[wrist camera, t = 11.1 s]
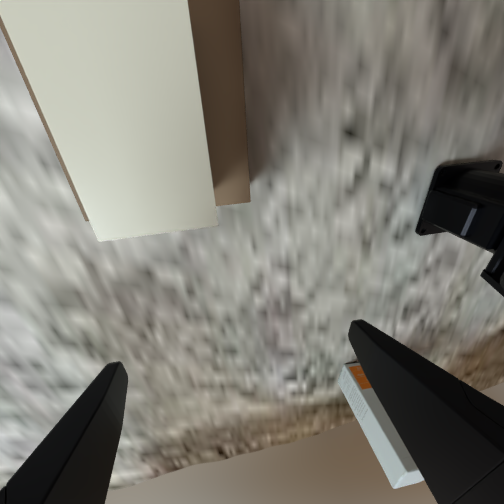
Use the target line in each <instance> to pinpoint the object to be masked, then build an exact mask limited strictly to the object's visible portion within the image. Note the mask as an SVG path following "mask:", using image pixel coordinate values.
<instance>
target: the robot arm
mask: <svg viewBox="0 0 504 504" xmlns="http://www.w3.org/2000/svg"><path fill="white" fill-rule="evenodd" d="M502 164H503V163H502V161H499V160H489V161H480V162H471V163H461V164H452V165H443V166H439V167H438V168H437V169H436V170H435V173H434V176H433V179H432V182H431V185H430V188H429V191H428V194H427V197H426V200H425V203H424V206H423V209H422V212H421V215H420V218H419V221H418V224H417V227H416V231H415V232H416V233H417V234H418V235H420V236H422V235H429V234H435V233H442V232H449V233H451V234H453V235H455V236H457V237H459V238H462V239H464V240H466V241H468V242H470V243H472V244H474V245H476V246H479V247H481V248H483V249H485V250H487V251H489V252H491V253H493V256H492V258H491V260H490V262H489V263H488V265H487V267H486V269H484V270H483V271H482V273H481V275H480V276H481V277H482V278H483V279H485V280H486V281H487V282H488V283H489V284H490V285H491V286H492V287H493V288H494V289H496V290H497V291H498V292H499V293H500V294H501V295H502V296H503V297H504V174H502V173H499V171H500V169H501V167H502ZM441 172H442V173H441ZM348 337H349V341H350V343H351V345H352V347H353V349H354V352H355V354H356V356H357V358H358V361H359V363H360V365H361V367H362V370H363V372H364V374H365V376H366V378H367V380H368V381H369V383H370V385H371V387H372V388H373V390H374V392H375V394H376V395H377V397H378V399H379V401H380V402H381V404H382V406H383V408H384V410H385V411H386V413H387V415H388V417H389V418H390V420H391V422H392V424H393V425H394V427H395V429H396V431H397V432H398V434H399V436H400V438H401V439H402V441H403V443H404V445H405V447H406V448H407V450H408V452H409V454H410V455H411V457H412V459H413V461H414V462H415V464H416V466H417V468H418V469H419V471H420V473H421V475H422V476H423V478H424V480H425V481H426V483H427V485H428V487H429V489H430V491H431V492H432V494H433V496H434V497H435V499H436V501H437V503H438V504H504V406H503V405H501V404H500V403H498V402H496V401H494V400H493V399H491V398H489V397H487V396H486V395H484V394H482V393H481V392H479V391H477V390H476V389H474V388H472V387H471V386H469V385H468V384H466V383H464V382H463V381H461V380H458V378H456V377H455V376H453V375H451V374H450V373H448V372H447V371H445V370H443V369H442V368H440V367H438V366H437V365H435V364H434V363H432V362H430V361H429V360H427V359H426V358H424V357H422V356H421V355H419V354H417V353H416V352H414V351H413V350H411V349H409V348H408V347H406V346H405V345H403V344H401V343H400V342H398V341H396V340H395V339H393V338H392V337H390V336H388V335H387V334H385V333H384V332H382V331H380V330H379V329H377V328H376V327H374V326H372V325H371V324H369V323H367V322H366V321H364V320H362V319H359V320H353V321H352V322H351V325H350V329H349V333H348ZM127 386H128V375H127V372H126V370H125V368H124V366H123V364H122V362H120V361H118V362H112V363H109V364H107V365H106V366H105V367H104V368H103V370H102V371H101V372H100V373H99V374H98V376H97V377H96V378H95V379H94V380H93V381H92V383H91V384H90V385H89V386H88V387H87V389H86V390H85V391H84V392H83V393H82V395H81V396H80V397H79V398H78V399H77V400H76V402H75V403H74V404H73V405H72V406H71V408H70V409H69V410H68V411H67V412H66V413H65V415H64V416H63V417H62V418H61V419H60V421H59V422H58V423H57V424H56V425H55V427H54V428H53V429H52V430H51V431H50V432H49V434H48V435H47V436H46V437H45V438H44V440H43V441H42V442H41V443H40V444H39V445H38V447H37V448H36V449H35V450H34V451H33V453H32V454H31V455H30V456H29V457H28V459H27V460H26V461H25V462H24V463H23V464H22V466H21V467H20V468H19V469H18V470H17V472H16V473H15V474H14V475H13V476H12V477H11V479H10V480H9V481H8V482H7V484H6V486H4V487H3V488H2V489H1V490H0V504H105V500H106V495H107V491H108V487H109V483H110V478H111V474H112V470H113V465H114V461H115V457H116V452H117V448H118V444H119V439H120V435H121V430H122V425H123V418H124V410H125V402H126V394H127Z"/></svg>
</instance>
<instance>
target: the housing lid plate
mask: <svg viewBox="0 0 504 504" xmlns="http://www.w3.org/2000/svg"><path fill="white" fill-rule="evenodd" d="M0 16H1V18H2V21H3V23H4V25H5V28H6V30H7V32H8V34H9V37H10V39H11V41H12V44H13V46H14V48H15V51H16V53H17V55H18V57H19V60H20V62H21V64H22V67H23V69H24V71H25V74H26V76H27V78H28V80H29V83H30V85H31V87H32V90H33V92H34V94H35V97H36V99H37V101H38V104H39V106H40V108H41V110H42V113H43V115H44V117H45V120H46V122H47V124H48V127H49V129H50V131H51V133H52V136H53V138H54V140H55V143H56V145H57V147H58V150H59V152H60V154H61V157H62V159H63V161H64V163H65V166H66V168H67V170H68V173H69V175H70V177H71V180H72V182H73V184H74V186H75V189H76V191H77V193H78V196H79V198H80V200H81V203H82V205H83V207H84V210H85V212H86V214H87V216H88V219H89V221H90V223H91V226H92V228H93V230H94V233H95V235H96V237H97V239H98V242H101V241H109V240H116V239H124V238H131V237H139V236H146V235H154V234H161V233H169V232H176V231H184V230H192V229H199V228H207V227H214V226H218V219H217V211H216V204H215V197H214V190H213V182H212V175H211V168H210V161H209V153H208V146H207V139H206V132H205V124H204V117H203V110H202V103H201V95H200V88H199V81H198V74H197V66H196V59H195V52H194V45H193V37H192V30H191V23H190V16H189V8H188V1H187V0H0Z"/></svg>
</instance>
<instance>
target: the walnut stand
mask: <svg viewBox="0 0 504 504" xmlns="http://www.w3.org/2000/svg"><path fill="white" fill-rule="evenodd" d="M187 1H188V8H189V16H190V23H191V30H192V37H193V45H194V52H195V59H196V66H197V74H198V81H199V88H200V95H201V103H202V110H203V117H204V124H205V132H206V139H207V146H208V153H209V161H210V168H211V175H212V182H213V190H214V197H215V204H216V206H221V205H230V204H238V203H247V202H251V201H250V183H249V165H248V148H247V130H246V112H245V94H244V77H243V59H242V41H241V23H240V6H239V0H187ZM0 27H1V30H2V32H3V34H4V36H5V39H6V41H7V43H8V45H9V48H10V50H11V52H12V55H13V57H14V59H15V61H16V64H17V66H18V68H19V71H20V73H21V75H22V77H23V80H24V82H25V84H26V86H27V89H28V91H29V93H30V96H31V98H32V100H33V102H34V105H35V107H36V109H37V112H38V114H39V116H40V118H41V121H42V123H43V125H44V127H45V130H46V132H47V134H48V137H49V139H50V141H51V143H52V146H53V148H54V150H55V153H56V155H57V157H58V159H59V162H60V164H61V166H62V168H63V171H64V173H65V175H66V178H67V180H68V182H69V184H70V187H71V189H72V191H73V194H74V196H75V198H76V200H77V203H78V205H79V207H80V209H81V212H82V214H83V216H84V219H85V221H89V219H88V216H87V214H86V212H85V210H84V207H83V205H82V203H81V200H80V198H79V196H78V193H77V191H76V189H75V186H74V184H73V182H72V180H71V177H70V175H69V173H68V170H67V168H66V166H65V163H64V161H63V159H62V157H61V154H60V152H59V150H58V147H57V145H56V143H55V140H54V138H53V136H52V133H51V131H50V129H49V127H48V124H47V122H46V120H45V117H44V115H43V113H42V110H41V108H40V106H39V104H38V101H37V99H36V97H35V94H34V92H33V90H32V87H31V85H30V83H29V80H28V78H27V76H26V74H25V71H24V69H23V67H22V64H21V62H20V60H19V57H18V55H17V53H16V51H15V48H14V46H13V44H12V41H11V39H10V37H9V34H8V32H7V30H6V28H5V25H4V23H3V21H2V18H1V16H0Z"/></svg>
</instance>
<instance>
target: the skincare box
mask: <svg viewBox="0 0 504 504" xmlns="http://www.w3.org/2000/svg"><path fill="white" fill-rule="evenodd" d="M338 383H339V385H340V387H341V389H342V391H343V393H344V395H345V397H346V399H347V401H348V403H349V405H350V407H351V408H352V410H353V412H354V414H355V416H356V418H357V420H358V422H359V424H360V426H361V427H362V429H363V431H364V433H365V435H366V437H367V439H368V441H369V443H370V445H371V446H372V449H373V450H374V452H375V454H376V456H377V458H378V460H379V462H380V464H381V466H382V468H383V470H384V472H385V474H386V476H387V478H388V479H389V481H390V484H391V485H392V487H393V488H399V487H403V486H406V485H410V484H415V483H418V482H421V481H423V480H424V478H423V476H422V475H421V473H420V471H419V469H418V468H417V466H416V464H415V462H414V461H413V459H412V457H411V455H410V454H409V452H408V450H407V448H406V447H405V445H404V443H403V441H402V439H401V438H400V436H399V434H398V432H397V431H396V429H395V427H394V425H393V424H392V422H391V420H390V418H389V417H388V415H387V413H386V411H385V410H384V408H383V406H382V404H381V402H380V401H379V399H378V397H377V395H376V394H375V392H374V390H373V388H372V387H371V385H370V383H369V381H368V380H367V378H366V376H365V374H364V372H363V370H362V367H361V365H360V363H352V364H344V366H343V369H342V372H341V374H340V377H339V379H338Z"/></svg>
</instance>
